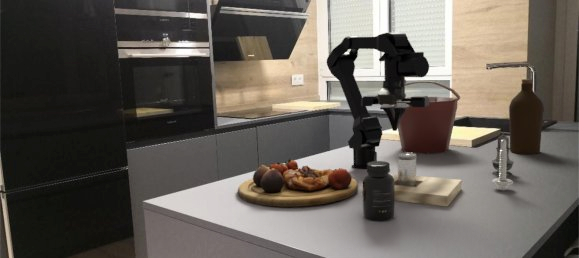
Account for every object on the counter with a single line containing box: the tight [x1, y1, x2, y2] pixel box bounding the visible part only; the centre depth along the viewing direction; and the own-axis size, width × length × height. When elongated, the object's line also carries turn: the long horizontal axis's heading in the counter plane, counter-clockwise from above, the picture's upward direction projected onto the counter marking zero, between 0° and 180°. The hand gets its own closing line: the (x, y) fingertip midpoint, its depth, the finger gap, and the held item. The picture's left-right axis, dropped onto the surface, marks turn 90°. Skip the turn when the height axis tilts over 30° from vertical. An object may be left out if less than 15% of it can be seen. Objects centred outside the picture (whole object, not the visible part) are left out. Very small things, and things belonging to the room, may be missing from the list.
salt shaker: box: [491, 132, 515, 177], centre depth 139 cm, size 6×6×12 cm
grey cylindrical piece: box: [397, 151, 417, 187], centre depth 124 cm, size 5×5×10 cm
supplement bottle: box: [362, 160, 396, 222], centre depth 106 cm, size 7×7×12 cm
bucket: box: [393, 80, 461, 155], centre depth 179 cm, size 24×22×25 cm
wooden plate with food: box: [237, 158, 359, 208], centre depth 130 cm, size 32×32×8 cm
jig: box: [390, 173, 462, 207], centre depth 123 cm, size 18×16×2 cm
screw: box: [491, 139, 514, 192], centre depth 124 cm, size 13×5×5 cm
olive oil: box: [508, 78, 545, 155], centre depth 168 cm, size 11×11×25 cm
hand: (394, 130), depth 143 cm, fingers closed
